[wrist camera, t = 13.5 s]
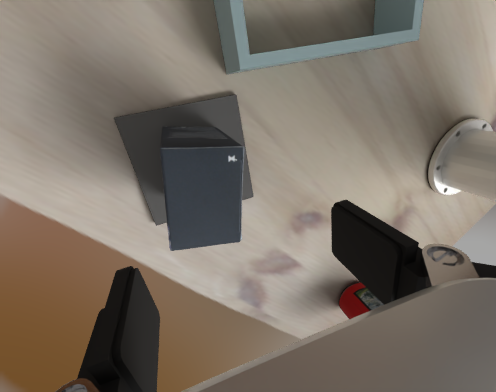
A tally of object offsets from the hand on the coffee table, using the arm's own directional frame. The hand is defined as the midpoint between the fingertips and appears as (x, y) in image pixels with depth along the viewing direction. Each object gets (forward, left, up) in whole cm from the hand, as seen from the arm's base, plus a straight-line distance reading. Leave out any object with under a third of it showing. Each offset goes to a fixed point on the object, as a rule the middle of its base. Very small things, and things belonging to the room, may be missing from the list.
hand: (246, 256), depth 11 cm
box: (+1, 0, -18) cm, 17 cm away
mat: (0, 0, -18) cm, 18 cm away
